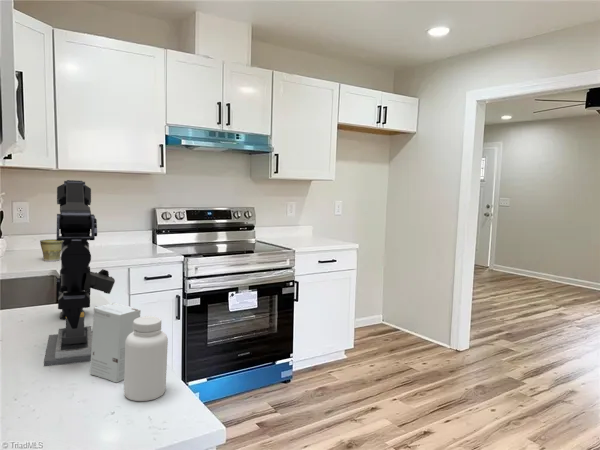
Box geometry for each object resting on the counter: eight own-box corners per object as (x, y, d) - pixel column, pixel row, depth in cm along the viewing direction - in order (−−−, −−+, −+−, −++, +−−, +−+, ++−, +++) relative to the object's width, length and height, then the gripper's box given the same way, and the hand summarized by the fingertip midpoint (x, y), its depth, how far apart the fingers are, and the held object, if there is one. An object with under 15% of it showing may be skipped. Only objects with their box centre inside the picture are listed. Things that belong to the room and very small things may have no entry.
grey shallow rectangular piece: (49, 339, 113) (49, 328, 113) (100, 334, 118) (100, 324, 118) (43, 366, 97) (43, 354, 97) (102, 359, 102) (103, 348, 102)
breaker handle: (63, 339, 110) (64, 312, 110) (85, 337, 112) (86, 311, 112) (63, 344, 107) (63, 317, 106) (86, 342, 109) (86, 315, 108)
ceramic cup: (53, 263, 211) (53, 242, 210) (34, 261, 212) (35, 240, 211) (71, 258, 223) (72, 239, 222) (54, 257, 225) (54, 238, 224)
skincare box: (89, 374, 94) (90, 307, 93) (111, 365, 100) (112, 301, 99) (118, 384, 91) (119, 314, 90) (139, 373, 96) (141, 307, 95)
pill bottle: (149, 406, 83) (151, 328, 81) (114, 397, 85) (116, 322, 84) (174, 388, 90) (176, 317, 89) (141, 381, 93) (143, 311, 92)
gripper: (115, 269, 97) (114, 337, 99) (110, 255, 114) (109, 314, 115) (58, 271, 92) (57, 343, 94) (61, 256, 109) (61, 317, 110)
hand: (74, 328), depth 103 cm, fingers closed
